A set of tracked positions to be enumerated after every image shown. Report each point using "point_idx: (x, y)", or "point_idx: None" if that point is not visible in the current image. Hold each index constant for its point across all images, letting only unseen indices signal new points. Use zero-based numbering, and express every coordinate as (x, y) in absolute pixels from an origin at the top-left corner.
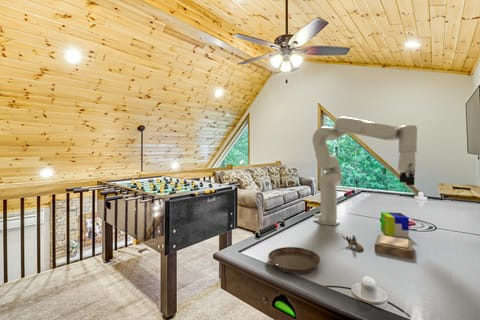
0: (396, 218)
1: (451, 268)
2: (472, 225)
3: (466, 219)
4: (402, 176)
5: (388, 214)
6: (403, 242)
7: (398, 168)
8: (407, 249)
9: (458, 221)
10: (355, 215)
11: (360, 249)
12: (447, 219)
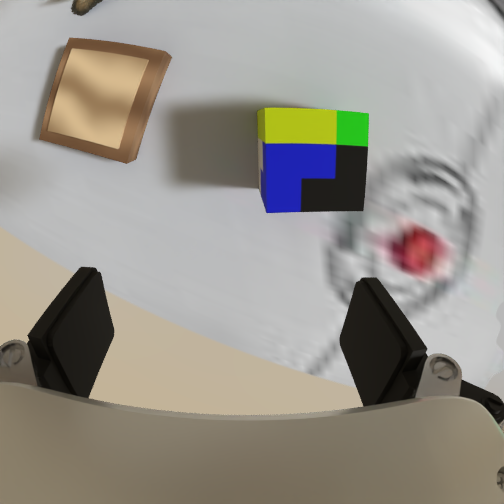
0: (265, 151)
1: (35, 211)
2: None
3: None
4: (381, 356)
5: (325, 133)
6: (84, 124)
7: (470, 443)
8: (44, 126)
9: None
10: (486, 102)
11: (77, 6)
12: None
